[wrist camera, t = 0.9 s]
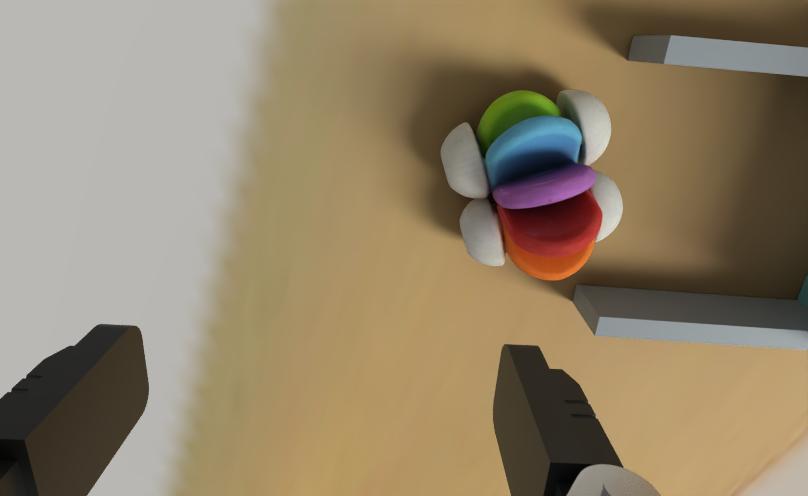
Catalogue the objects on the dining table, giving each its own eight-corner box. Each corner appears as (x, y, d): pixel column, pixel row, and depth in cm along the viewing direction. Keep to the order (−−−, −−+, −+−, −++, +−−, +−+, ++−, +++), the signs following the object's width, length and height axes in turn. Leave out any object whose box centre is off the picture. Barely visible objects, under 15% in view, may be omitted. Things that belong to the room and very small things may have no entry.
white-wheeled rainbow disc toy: (469, 267, 32) (489, 329, 25) (428, 110, 28) (437, 133, 21) (608, 230, 31) (667, 284, 24) (583, 64, 27) (644, 72, 21)
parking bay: (633, 35, 27) (757, 34, 17) (916, 61, 27) (1182, 73, 18) (572, 301, 32) (642, 407, 23) (808, 318, 33) (968, 427, 24)
